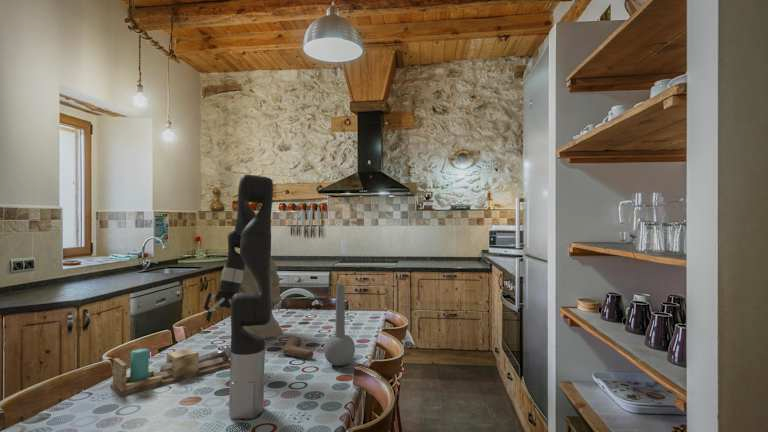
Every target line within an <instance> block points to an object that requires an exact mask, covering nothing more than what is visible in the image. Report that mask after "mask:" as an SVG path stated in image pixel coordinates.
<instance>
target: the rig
mask: <svg viewBox="0 0 768 432" xmlns="http://www.w3.org/2000/svg"><path fill="white" fill-rule="evenodd" d="M199 353H200V352H198V351H197V350H194V349H192V348H191V347H190V348H184V349H180V350H175V351H172V352H167V353H166V362H165V364H167V363H171V362H172V370H169V371H165V372H160V370H159V371H156V372H155V370H154V369H149V370H148V379H145V380H141V381H137V382H133V383H130V375H127V368H128V367H127V365H128V364H127V363H125V362H124V361H122V360H121V359H120V358H119V357H115V358H113V366H112V367H113V368H112V382H110V384H109V385H110V386H109V387H110V388H111V389H112V390H113V391H114V392H115V393H116V394H117V395H118V396H120V397H125V396H129V395H132V394H135V393H139V392H143V391H147V390H150V389H154V388H158V387H163V386H166V385H169V384H173V383H176V382H179V381H185V380H187V379H191V378H195V377H198V376H202V375H206V374H209V373H213V372H217V371H220V370H225V369H228V368H229V369H230V359H228V360H223V359H222V358H217V359H213V360H209V361H205V362H201V363H198V358H199V356H200V355H199Z"/></svg>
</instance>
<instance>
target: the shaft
mask: <svg viewBox="0 0 768 432" xmlns="http://www.w3.org/2000/svg"><path fill="white" fill-rule="evenodd" d="M230 357H231V347H230V345H229V346H228V345H225V346H222V347H221V349H220V350H219V351H214V352H211V353H210V352H209V353H205V354H202V355H199V358H198V363H201V362H205V361H209V360H213V359H217V358H222V359H223V360H228V359H229V360H230ZM169 370H172V362H171V363H167V364H166V363H164V364H163V363H162V364H160V365H159V371H160V372H165V371H169Z"/></svg>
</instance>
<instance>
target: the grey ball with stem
mask: <svg viewBox="0 0 768 432" xmlns="http://www.w3.org/2000/svg"><path fill="white" fill-rule="evenodd" d="M335 298H336V300H335V301H336V303H335V304H336V305H335V331H334V333H333V335H331V336H329V337H328V338H327V339H326V341H325V344H324V349H323V351H324V352H323V353H324V357H325V359H326V361H327V362H328V363H329V364H331V365H333V366H336V367H341V366H342V367H343V366H346V365H348V364H349V363H350V362H351V361H352V360H353V358H354V356H355V353H356V345H355V342H354V340H353V338H352V337H351V336H350V335H348V334H345V333H346V332H345V331H346V330H345V328H346V327H345V325H346V324H345V323H346V321H345V318H346V314H345V313H346V305H345V304H346V301H345V300H346V285H345V284H337V285H336V297H335Z"/></svg>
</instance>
